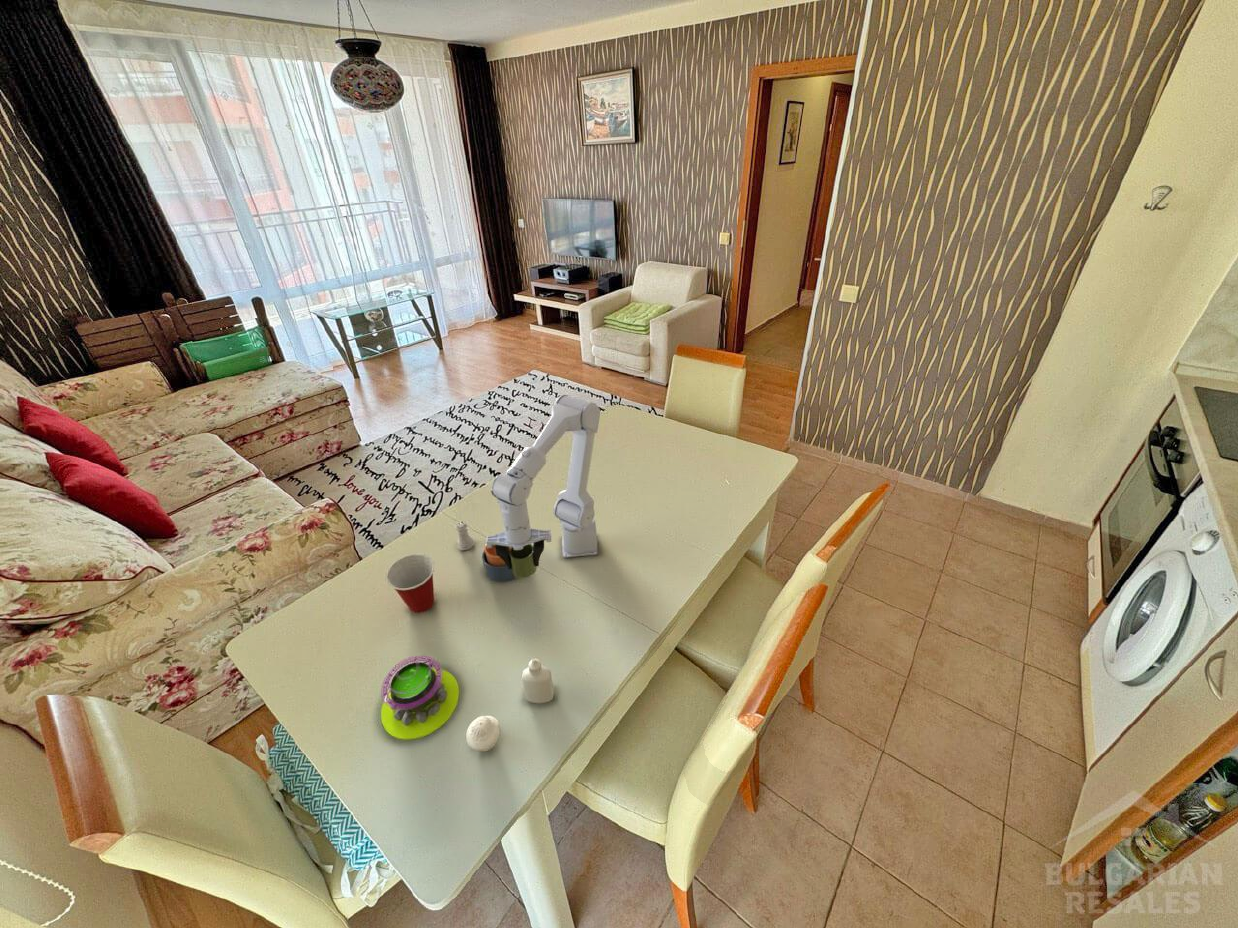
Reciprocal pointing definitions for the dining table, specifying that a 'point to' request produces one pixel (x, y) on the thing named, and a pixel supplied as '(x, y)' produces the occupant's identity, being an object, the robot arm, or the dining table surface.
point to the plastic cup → (413, 581)
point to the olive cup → (522, 561)
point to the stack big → (497, 571)
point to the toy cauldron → (418, 699)
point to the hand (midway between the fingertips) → (523, 564)
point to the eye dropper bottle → (537, 683)
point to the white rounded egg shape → (483, 733)
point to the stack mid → (493, 557)
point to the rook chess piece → (463, 536)
